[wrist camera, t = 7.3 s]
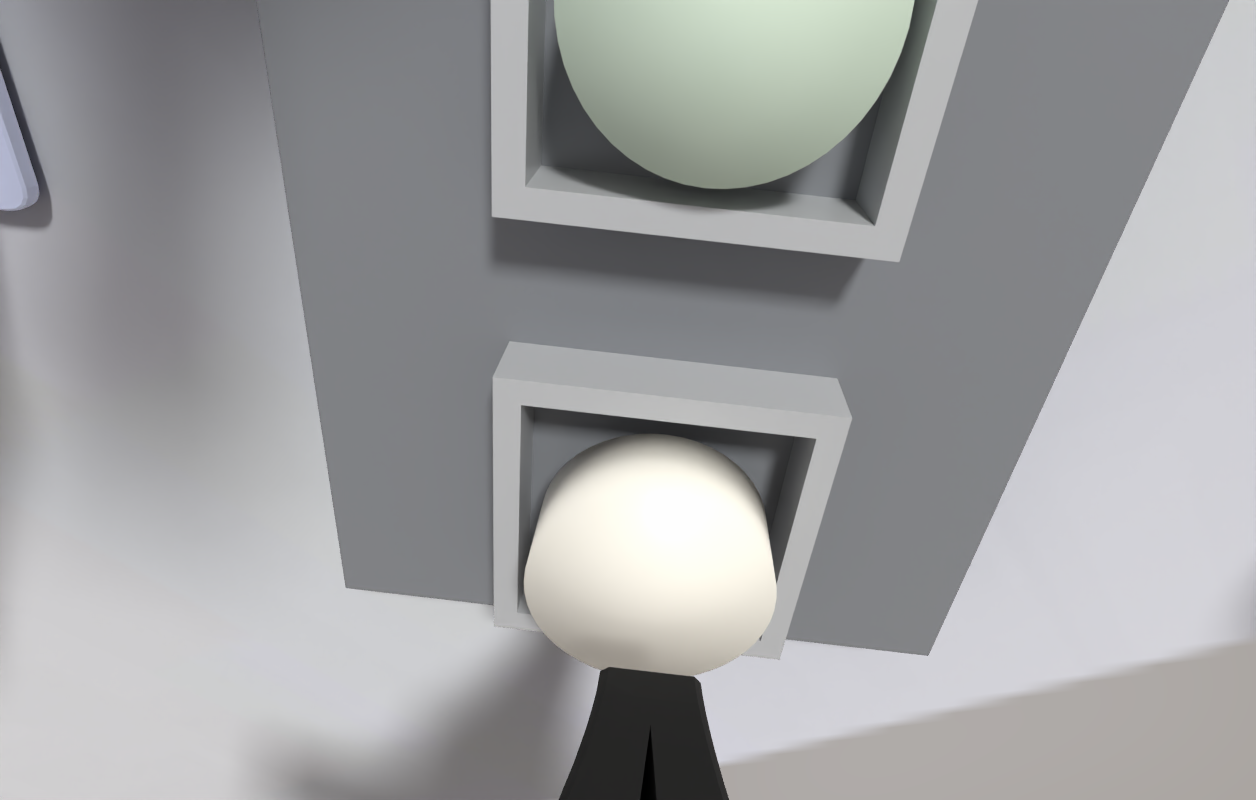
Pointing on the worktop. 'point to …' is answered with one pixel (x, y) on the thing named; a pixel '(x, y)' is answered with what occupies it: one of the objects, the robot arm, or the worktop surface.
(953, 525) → the button panel
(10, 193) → the robot arm
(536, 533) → the cream button
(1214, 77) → the worktop surface
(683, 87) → the sage button
